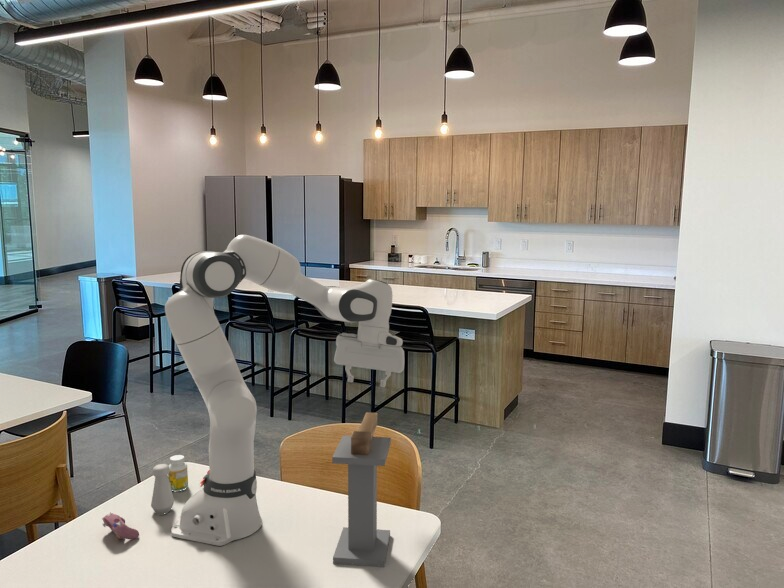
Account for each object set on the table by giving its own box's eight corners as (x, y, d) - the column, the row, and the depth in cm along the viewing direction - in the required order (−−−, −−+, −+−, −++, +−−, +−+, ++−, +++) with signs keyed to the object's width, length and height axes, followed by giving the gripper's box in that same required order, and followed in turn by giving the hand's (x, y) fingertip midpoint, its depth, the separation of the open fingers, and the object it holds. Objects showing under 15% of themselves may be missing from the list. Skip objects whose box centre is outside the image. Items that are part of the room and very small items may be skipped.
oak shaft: (351, 454, 130) (351, 437, 130) (364, 423, 150) (364, 408, 149) (368, 455, 130) (368, 438, 129) (379, 423, 149) (379, 409, 149)
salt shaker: (166, 517, 151) (163, 471, 150) (147, 515, 153) (144, 469, 151) (178, 506, 157) (176, 462, 155) (160, 504, 158) (157, 460, 156)
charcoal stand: (333, 563, 132) (332, 457, 128) (343, 532, 145) (343, 435, 141) (384, 566, 131) (384, 459, 127) (390, 535, 144) (390, 437, 140)
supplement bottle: (190, 489, 167) (189, 458, 166) (171, 494, 164) (170, 463, 163) (185, 482, 172) (183, 452, 170) (166, 487, 168) (165, 456, 167)
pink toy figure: (109, 534, 146) (95, 516, 143) (125, 521, 149) (111, 503, 146) (126, 550, 139) (111, 531, 136) (142, 535, 142) (127, 517, 139)
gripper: (335, 331, 161) (328, 380, 161) (406, 341, 159) (400, 390, 158) (339, 331, 167) (333, 378, 167) (407, 340, 165) (401, 387, 165)
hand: (366, 384), depth 163 cm, fingers open, 8 cm apart
